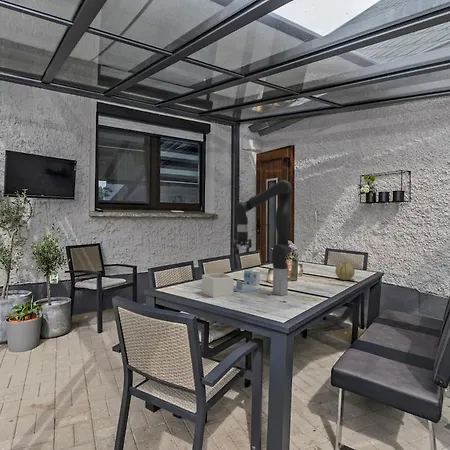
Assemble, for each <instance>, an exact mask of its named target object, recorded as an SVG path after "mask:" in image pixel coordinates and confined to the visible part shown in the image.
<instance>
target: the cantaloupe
mask: <svg viewBox="0 0 450 450" xmlns="http://www.w3.org/2000/svg"><path fill="white" fill-rule="evenodd" d="M355 273H356V272H355V267H354V266H353V264H351V263H350V262H345V261H343V262H339V263H338V264H337V266H336V267H335V276H336V277H337V278H338V279H339V280H343V281H349V280H351V279H353V277H354V276H355Z"/></svg>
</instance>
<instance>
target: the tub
mask: <svg viewBox="0 0 450 450" xmlns="http://www.w3.org/2000/svg"><path fill="white" fill-rule="evenodd" d="M233 286H234V276H232V275H229V274H227V273H223V272H216V273H208V274H202V275H201V293H202V294H204V295H207V296H209V297H210V296H211V297H210V298H212V297H213V299H215V298H221V297H223V298H224V297H229V296H234V290H233Z"/></svg>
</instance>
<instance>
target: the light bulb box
mask: <svg viewBox="0 0 450 450" xmlns="http://www.w3.org/2000/svg"><path fill="white" fill-rule="evenodd" d="M243 285H250V286H253V287H258V286H260V285H261V270H259V269H250V268H249V269H248V268H247V269H244V271H243Z"/></svg>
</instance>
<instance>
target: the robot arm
mask: <svg viewBox="0 0 450 450" xmlns="http://www.w3.org/2000/svg"><path fill="white" fill-rule="evenodd" d="M292 190H293V189H292V184H291V182H290V181H288V180H286V179H281V180H278V181H277V182H276V183H275V184H273V185H272V186H270V187H269V188H268V189H266V190H264V191H262V192H260V193H257V194H255V195H254V196H252V197H250V198H249V199H248V200H246V201H243V202H241V201H240V202H238V203H237V204H236V209H235V210H236V216H237V228H236V229H237V231H236V238H237V239H233V242H232V243H233V244H232V248H233V249H234V250H235V255H237V256H238V255H239V252H240V250H239V249H240V248H241V247H243V246H245V254H246V255H249V254H250V249H251V248H252V247H253V246H252V245H253V244H252V239H251V238H249V225H248V222H249V219H248V216H247V212H249V211H251V210H253V209H254V208H256V207H258V206H260V205H262V204H264V203H266V202H267V201H268V200H270V199H272V198H274V197H276V196H278V204H277V208H276V212H275V220H274V222H275V224H274V225H275V229H276V232H277V243H276V244H275V245H274V246H273V247H272V252H271V263H272V294H273V295H275V296H277V295H278V296H285V295H288V292H289V289H288V287H289V286H288V284H289V280H288V277H287V276H288V263H287V262H286V260H287V259H286V256H288V255H289V253H290V246H289V245H290V244H289V234H290V219H291V217H290V216H291V215H290V214H291V211H290V210H291V209H290V208H291V206H290V205H291V203H290V202H291V194H292Z"/></svg>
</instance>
